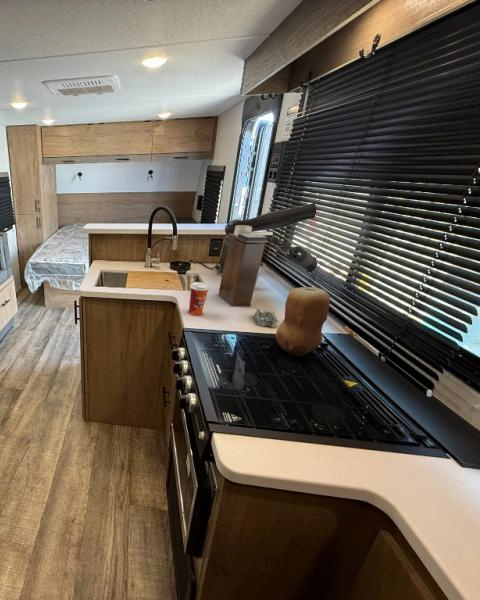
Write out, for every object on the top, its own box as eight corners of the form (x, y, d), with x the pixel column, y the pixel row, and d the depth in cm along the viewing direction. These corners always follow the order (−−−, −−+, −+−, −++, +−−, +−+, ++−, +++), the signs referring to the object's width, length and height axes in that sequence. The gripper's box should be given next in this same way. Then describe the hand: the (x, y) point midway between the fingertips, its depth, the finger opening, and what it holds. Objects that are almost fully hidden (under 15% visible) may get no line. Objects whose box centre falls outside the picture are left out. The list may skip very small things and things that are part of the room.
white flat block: (275, 236, 143) (277, 227, 141) (238, 236, 142) (240, 227, 141) (266, 233, 149) (268, 224, 148) (231, 233, 149) (232, 225, 147)
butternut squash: (274, 339, 120) (291, 278, 109) (316, 350, 112) (338, 286, 102) (269, 355, 109) (288, 290, 99) (315, 368, 102) (340, 300, 92)
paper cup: (195, 318, 136) (200, 289, 131) (183, 311, 142) (187, 283, 137) (208, 314, 139) (213, 285, 134) (195, 308, 146) (199, 280, 140)
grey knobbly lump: (252, 315, 139) (254, 307, 137) (271, 317, 136) (274, 309, 135) (257, 325, 129) (259, 317, 128) (277, 328, 127) (279, 319, 125)
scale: (237, 237, 141) (238, 233, 141) (258, 236, 142) (259, 233, 141) (246, 240, 134) (247, 237, 133) (269, 240, 134) (270, 236, 134)
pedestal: (216, 294, 161) (228, 233, 149) (235, 293, 162) (248, 233, 149) (231, 306, 147) (245, 240, 134) (251, 306, 147) (268, 240, 134)
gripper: (295, 247, 157) (273, 231, 153) (316, 254, 144) (292, 237, 140) (285, 259, 159) (262, 244, 155) (304, 268, 146) (280, 251, 142)
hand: (276, 241), depth 147 cm, fingers open, 8 cm apart
